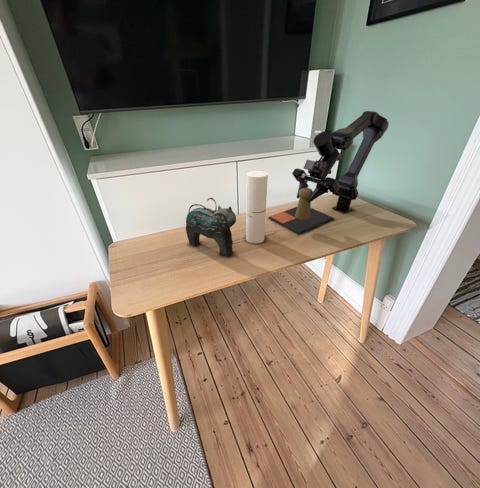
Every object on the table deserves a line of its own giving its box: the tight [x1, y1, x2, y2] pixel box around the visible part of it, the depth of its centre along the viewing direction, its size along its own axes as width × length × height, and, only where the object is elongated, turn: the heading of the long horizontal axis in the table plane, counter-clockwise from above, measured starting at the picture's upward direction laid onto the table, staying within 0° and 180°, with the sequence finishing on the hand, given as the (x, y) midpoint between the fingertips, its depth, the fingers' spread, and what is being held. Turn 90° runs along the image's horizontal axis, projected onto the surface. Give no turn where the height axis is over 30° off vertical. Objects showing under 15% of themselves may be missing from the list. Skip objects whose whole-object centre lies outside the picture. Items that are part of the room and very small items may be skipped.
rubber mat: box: [268, 206, 334, 235], centre depth 114 cm, size 22×18×1 cm
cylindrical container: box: [245, 170, 269, 244], centre depth 93 cm, size 7×7×25 cm
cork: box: [295, 187, 314, 220], centre depth 99 cm, size 6×6×11 cm
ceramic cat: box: [185, 197, 237, 258], centre depth 89 cm, size 20×6×20 cm, turn 59°
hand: (302, 200), depth 97 cm, fingers closed on cork, 5 cm apart
